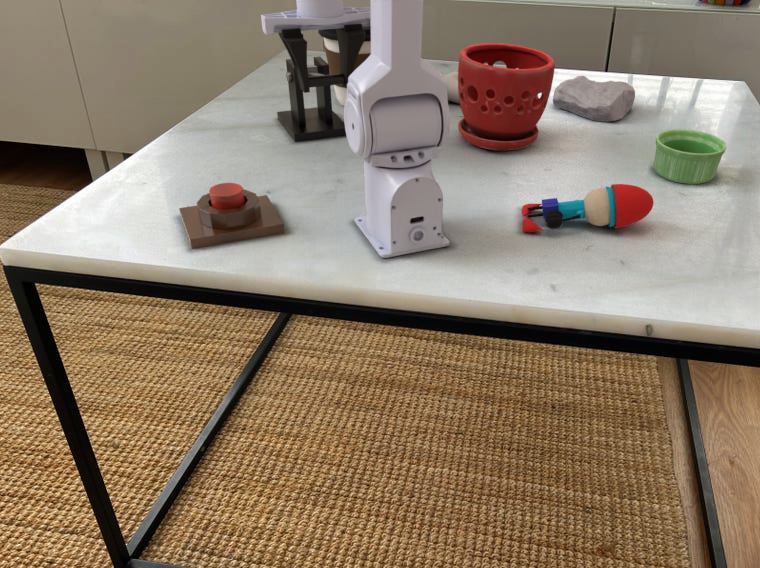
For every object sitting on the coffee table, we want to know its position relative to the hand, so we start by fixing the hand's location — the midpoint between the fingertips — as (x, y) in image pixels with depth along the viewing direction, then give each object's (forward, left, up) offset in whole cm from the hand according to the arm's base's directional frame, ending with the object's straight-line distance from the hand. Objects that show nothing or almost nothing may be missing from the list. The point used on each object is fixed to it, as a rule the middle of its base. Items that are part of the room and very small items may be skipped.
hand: (326, 88), depth 95 cm
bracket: (+9, 0, -8) cm, 12 cm away
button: (-18, +17, -6) cm, 26 cm away
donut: (+14, -28, -8) cm, 32 cm away
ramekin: (-24, -42, -8) cm, 49 cm away
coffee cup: (+18, -10, -8) cm, 22 cm away
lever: (+4, 0, -1) cm, 5 cm away
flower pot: (-5, -24, -8) cm, 26 cm away
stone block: (+2, -44, -8) cm, 45 cm away
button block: (-18, +17, -8) cm, 26 cm away
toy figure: (-32, -21, -8) cm, 39 cm away
